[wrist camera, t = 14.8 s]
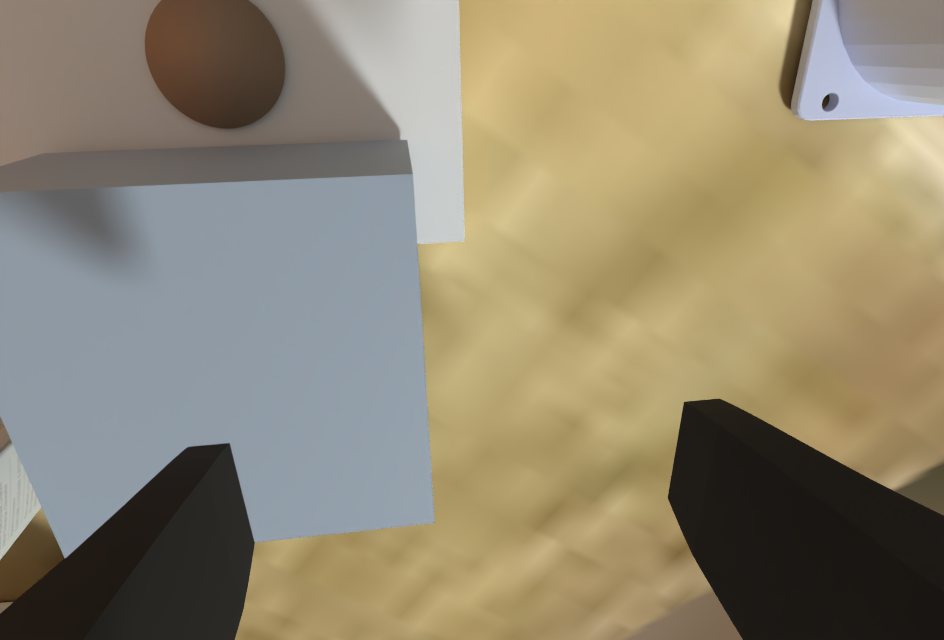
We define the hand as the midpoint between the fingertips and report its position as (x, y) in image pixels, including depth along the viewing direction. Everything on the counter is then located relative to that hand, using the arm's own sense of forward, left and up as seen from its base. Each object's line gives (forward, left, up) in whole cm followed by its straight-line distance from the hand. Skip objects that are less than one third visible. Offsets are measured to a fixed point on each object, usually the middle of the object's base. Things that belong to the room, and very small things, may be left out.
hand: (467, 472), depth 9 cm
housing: (+5, +1, -9) cm, 10 cm away
